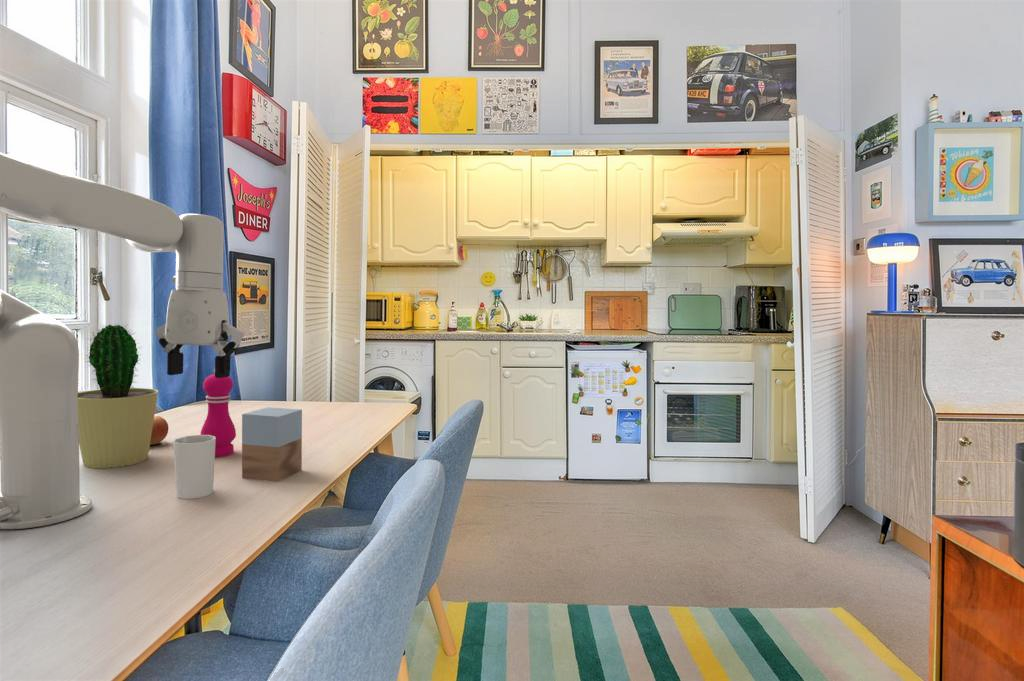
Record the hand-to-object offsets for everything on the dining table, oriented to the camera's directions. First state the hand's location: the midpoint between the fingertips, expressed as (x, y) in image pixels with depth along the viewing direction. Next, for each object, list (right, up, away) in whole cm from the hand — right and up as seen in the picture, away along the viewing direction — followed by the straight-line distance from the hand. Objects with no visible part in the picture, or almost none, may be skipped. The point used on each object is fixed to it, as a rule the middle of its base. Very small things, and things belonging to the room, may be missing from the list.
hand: (198, 375), depth 101 cm
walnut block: (+9, -21, +11) cm, 25 cm away
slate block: (+9, -14, +10) cm, 20 cm away
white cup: (0, -21, -2) cm, 22 cm away
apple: (-30, -19, +31) cm, 47 cm away
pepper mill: (-9, -20, +24) cm, 33 cm away
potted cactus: (-27, -20, +17) cm, 38 cm away
